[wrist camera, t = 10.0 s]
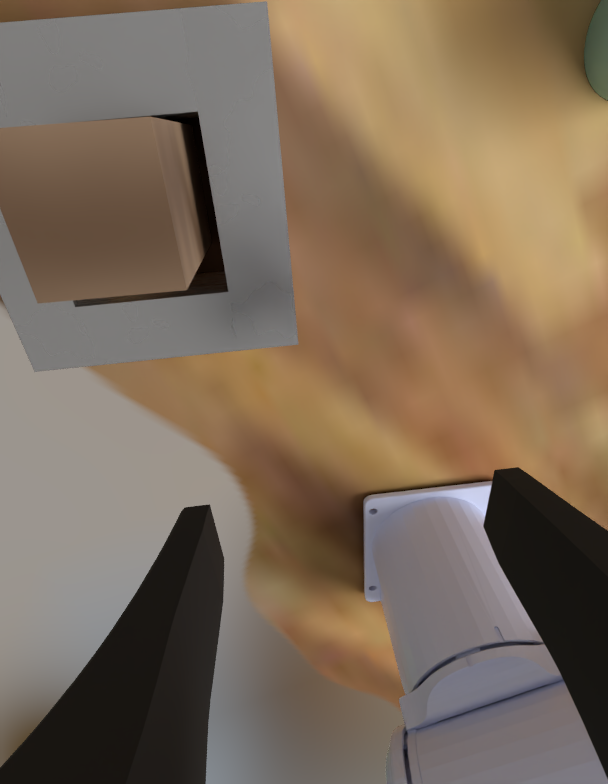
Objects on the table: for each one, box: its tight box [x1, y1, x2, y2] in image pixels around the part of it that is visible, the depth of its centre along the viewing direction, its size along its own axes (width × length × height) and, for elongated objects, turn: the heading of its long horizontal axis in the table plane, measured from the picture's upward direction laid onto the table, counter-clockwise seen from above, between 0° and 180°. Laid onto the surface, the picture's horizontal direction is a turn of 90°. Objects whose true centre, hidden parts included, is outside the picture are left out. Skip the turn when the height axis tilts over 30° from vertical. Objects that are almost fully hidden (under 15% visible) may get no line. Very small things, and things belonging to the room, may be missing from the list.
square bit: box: [0, 117, 212, 304], centre depth 13 cm, size 4×4×6 cm
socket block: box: [0, 2, 298, 372], centre depth 15 cm, size 10×10×3 cm
